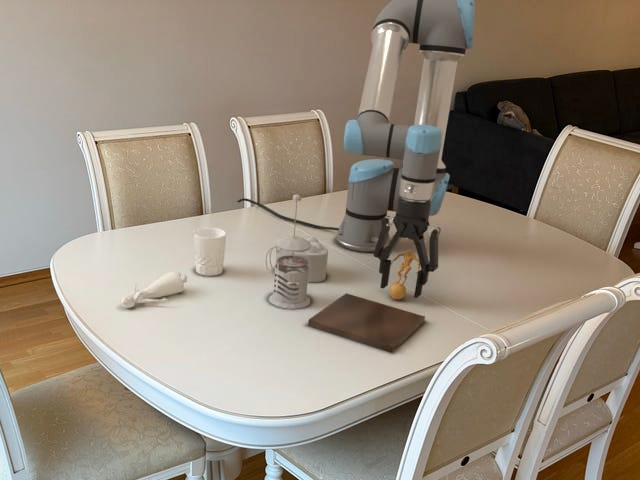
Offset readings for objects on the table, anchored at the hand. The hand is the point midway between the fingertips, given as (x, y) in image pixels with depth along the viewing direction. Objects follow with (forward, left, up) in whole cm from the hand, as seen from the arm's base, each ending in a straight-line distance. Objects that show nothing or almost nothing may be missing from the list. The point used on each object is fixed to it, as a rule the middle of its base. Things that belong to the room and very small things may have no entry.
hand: (400, 291), depth 168 cm
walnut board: (0, -18, -2) cm, 18 cm away
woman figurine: (-45, -37, -2) cm, 58 cm away
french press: (-21, -18, -2) cm, 28 cm away
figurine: (0, 0, -2) cm, 2 cm away
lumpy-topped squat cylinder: (-26, -2, -2) cm, 26 cm away
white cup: (-45, -16, -2) cm, 48 cm away
